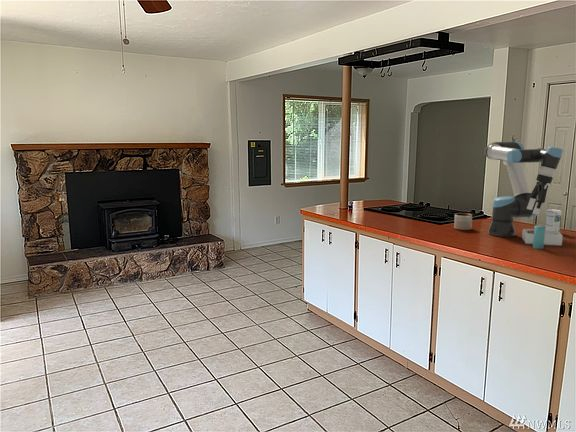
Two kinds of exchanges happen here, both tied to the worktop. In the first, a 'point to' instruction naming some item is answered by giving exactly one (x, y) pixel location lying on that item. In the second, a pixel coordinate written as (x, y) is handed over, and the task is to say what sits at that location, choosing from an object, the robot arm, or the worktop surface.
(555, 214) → the syrup box
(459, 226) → the planter
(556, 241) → the grey tote
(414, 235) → the worktop surface
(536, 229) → the teal cylinder
